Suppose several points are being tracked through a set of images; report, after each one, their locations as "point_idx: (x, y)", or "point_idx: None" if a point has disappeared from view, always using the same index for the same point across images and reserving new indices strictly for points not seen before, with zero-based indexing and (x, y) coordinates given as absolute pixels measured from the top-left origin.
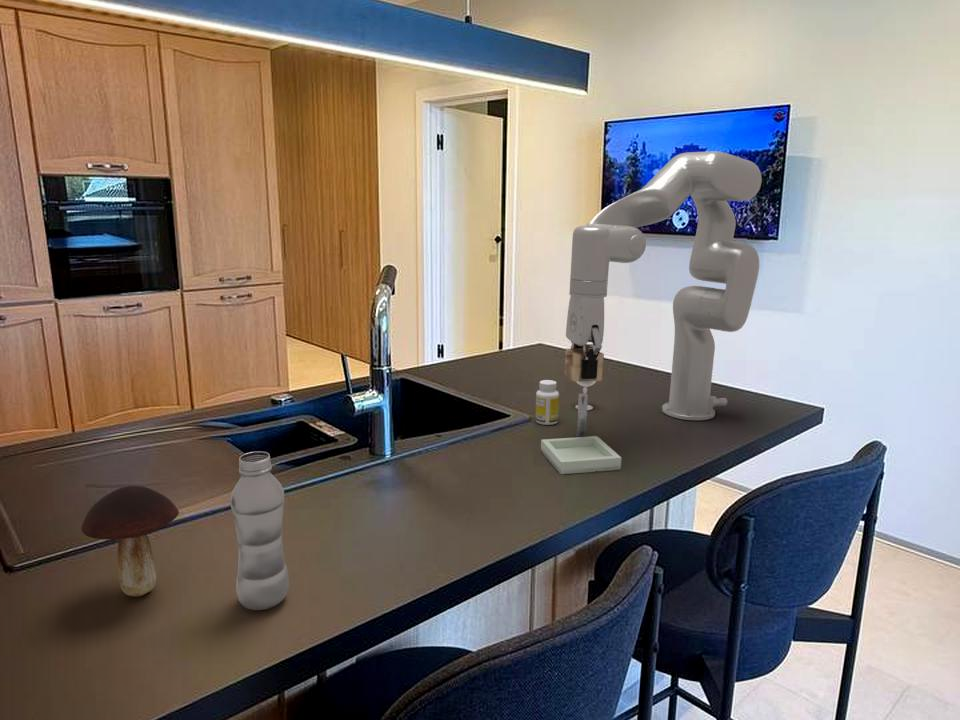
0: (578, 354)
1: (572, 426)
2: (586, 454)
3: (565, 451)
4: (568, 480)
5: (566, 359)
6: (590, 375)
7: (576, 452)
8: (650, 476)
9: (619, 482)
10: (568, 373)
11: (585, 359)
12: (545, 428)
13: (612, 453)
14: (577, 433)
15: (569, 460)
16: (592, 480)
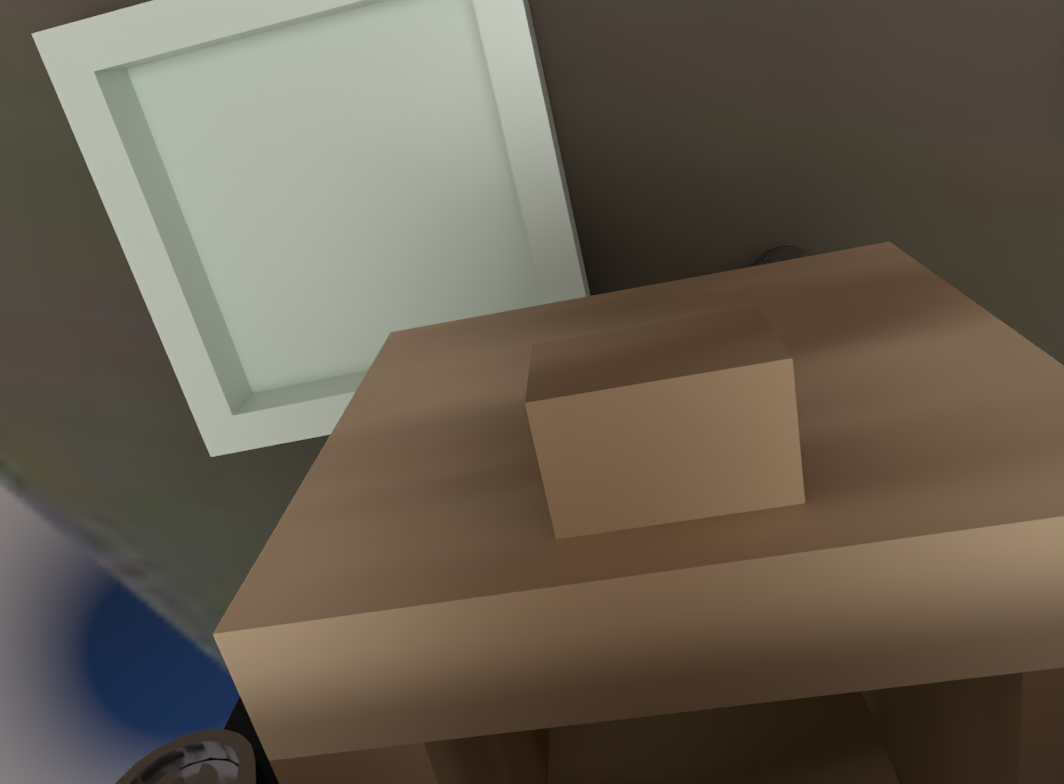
0: (274, 716)
1: (1056, 254)
2: (390, 259)
3: (435, 115)
4: (4, 76)
5: (937, 364)
6: None
7: (421, 195)
8: (179, 546)
9: (59, 378)
10: (678, 302)
11: (151, 763)
12: (1051, 13)
13: (274, 419)
14: (780, 259)
15: (82, 103)
16: (45, 232)
